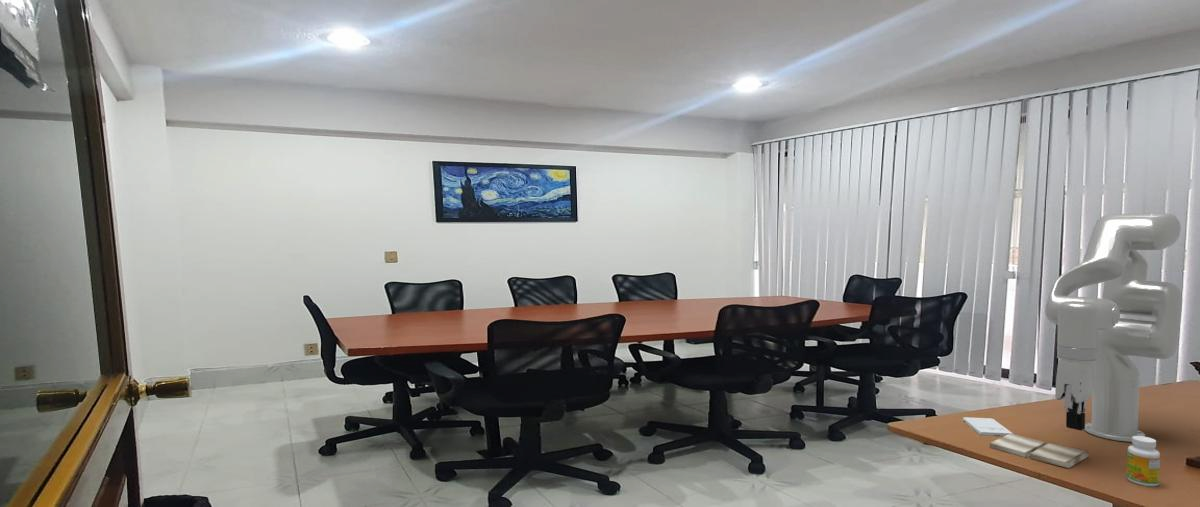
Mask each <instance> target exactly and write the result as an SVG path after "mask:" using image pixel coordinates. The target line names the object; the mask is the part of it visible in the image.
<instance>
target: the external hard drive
mask: <svg viewBox="0 0 1200 507" xmlns="http://www.w3.org/2000/svg"><path fill="white" fill-rule="evenodd" d="M964 421H965V422H964ZM962 422H964V423H965V424H966V425H967V424H968V426H969V428H971V429H972V430H973V431H975V432H976V433H978V434H977V435H980V436H986V437H987V436H989V437H995V436H997V437H1004V436H1006V435H1008V434H1010V433H1011V434H1014V433H1013V432H1011V431H1010V430H1009V429H1007V428H1006V427H1005V426H1004V425H1002V424H1001V423H999V421H996V420H995V419H994V418H989V417H988V418H986V417H968V416H967V417H962Z"/></svg>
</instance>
